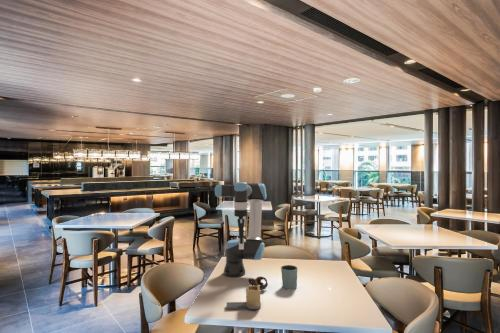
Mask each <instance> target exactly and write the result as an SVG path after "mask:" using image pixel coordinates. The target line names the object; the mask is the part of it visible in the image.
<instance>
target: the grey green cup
mask: <svg viewBox="0 0 500 333" xmlns="http://www.w3.org/2000/svg"><path fill="white" fill-rule="evenodd" d="M280 271H281V281H282V288H283V289H284V290H291V291H292V290H295V289H297V287H298V286H297V285H298V267H297V265H292V264H286V265H282V266H281V267H280Z"/></svg>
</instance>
